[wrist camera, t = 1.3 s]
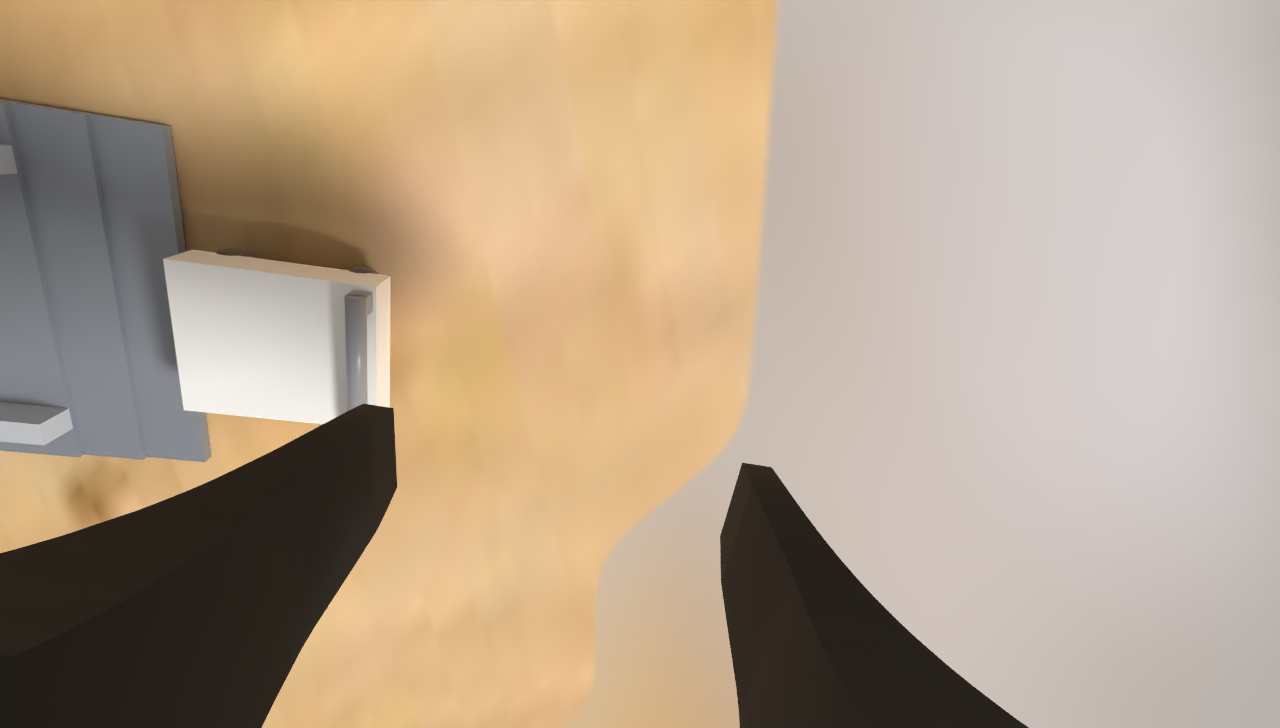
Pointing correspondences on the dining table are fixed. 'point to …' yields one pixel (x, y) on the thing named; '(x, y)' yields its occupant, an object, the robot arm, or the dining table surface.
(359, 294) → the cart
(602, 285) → the dining table surface
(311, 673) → the dining table surface
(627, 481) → the dining table surface
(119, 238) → the dock
